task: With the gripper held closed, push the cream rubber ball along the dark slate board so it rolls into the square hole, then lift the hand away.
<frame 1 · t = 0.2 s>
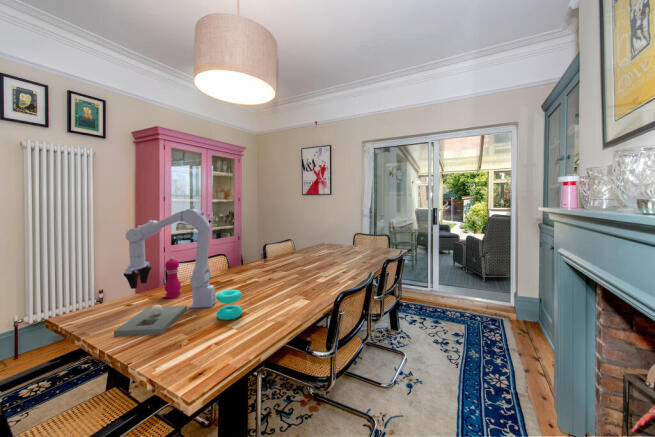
hand: (138, 285, 122), 10 cm above the table, tool pointing down, fingers open, 7 cm apart
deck: (154, 321, 108), on the table
ball: (156, 309, 110), point 4 cm above the table, touching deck
donuts: (229, 316, 114), on the table
pepper mill: (173, 296, 138), on the table
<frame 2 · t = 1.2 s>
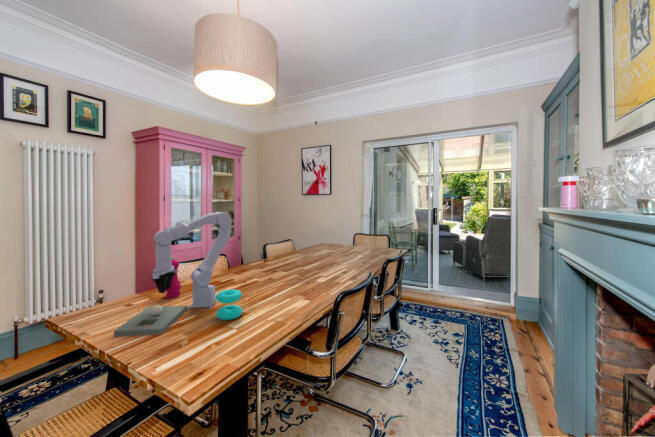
hand: (164, 291, 117), 9 cm above the table, tool pointing down, fingers open, 4 cm apart
nothing on the table moved.
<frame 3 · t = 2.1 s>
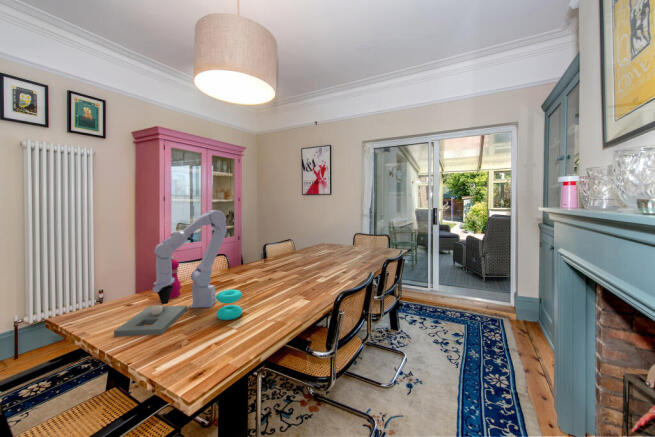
hand: (165, 303, 117), 4 cm above the table, tool pointing down, fingers closed
nothing on the table moved.
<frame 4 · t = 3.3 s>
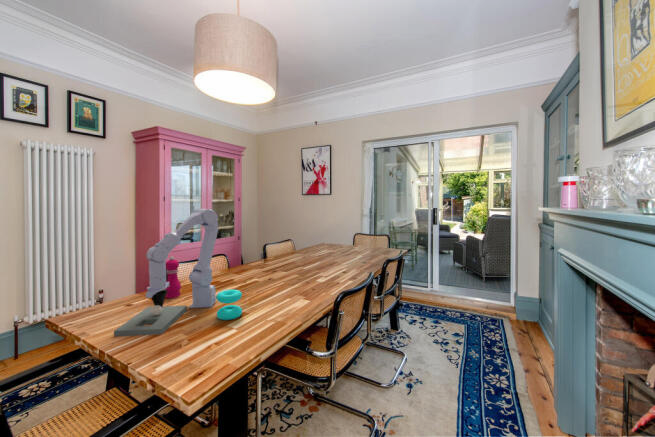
hand: (158, 309, 112), 4 cm above the table, tool pointing down, fingers closed, pressing on ball
ball: (156, 310, 110), point 4 cm above the table, tilted 7°, touching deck, gripper
everything else where it was.
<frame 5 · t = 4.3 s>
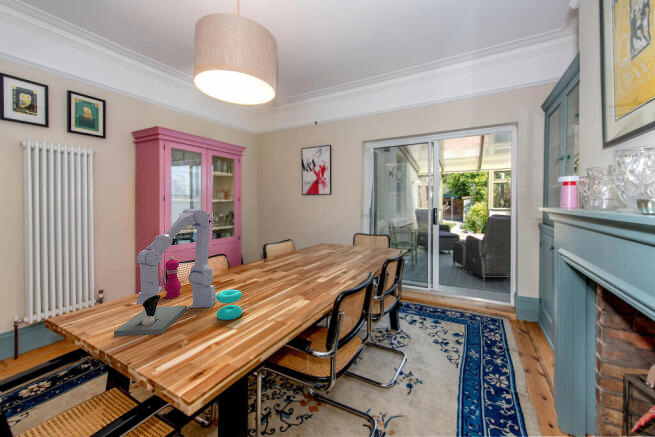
hand: (151, 315, 106), 3 cm above the table, tool pointing down, fingers closed
ball: (148, 321, 104), point 2 cm above the table, tilted 172°, touching gripper
everything else where it was.
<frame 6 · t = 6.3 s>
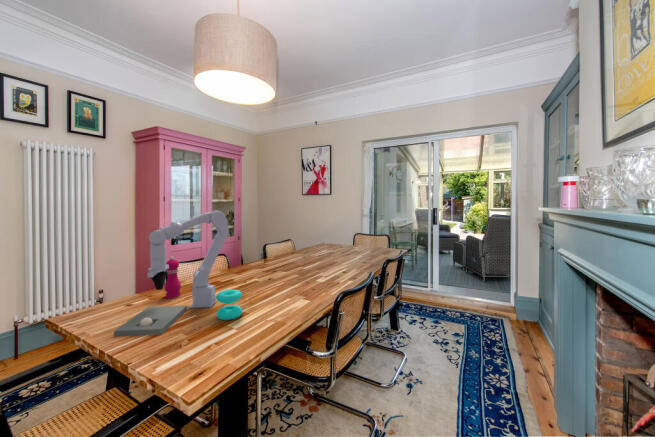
hand: (159, 289, 119), 9 cm above the table, tool pointing down, fingers closed
ball: (146, 323, 103), point 2 cm above the table, tilted 144°
everything else where it was.
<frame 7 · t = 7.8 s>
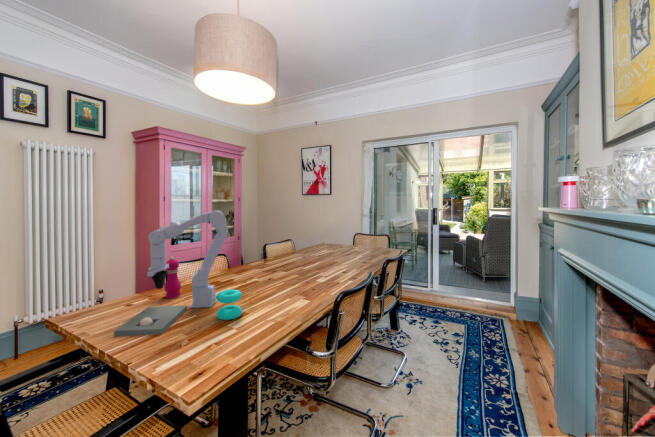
hand: (159, 288, 120), 9 cm above the table, tool pointing down, fingers closed
nothing on the table moved.
at the end: ball 0.6 cm from the target spot on the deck, point 2.0 cm above the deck's base; ball moved 7.8 cm from its start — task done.
